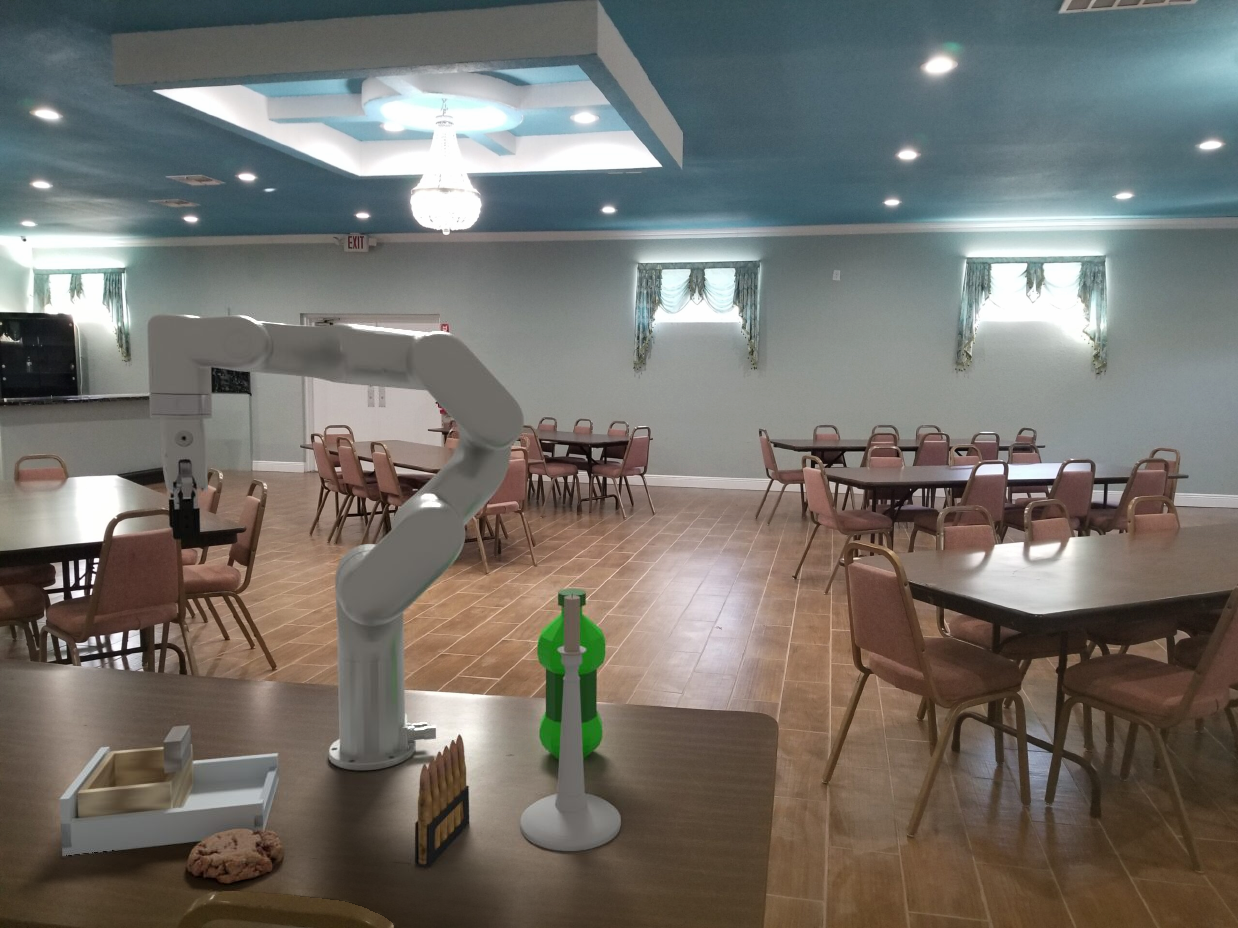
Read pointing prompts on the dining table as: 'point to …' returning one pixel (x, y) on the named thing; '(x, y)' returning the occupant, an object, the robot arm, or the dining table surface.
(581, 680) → the plastic bottle
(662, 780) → the dining table surface
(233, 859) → the cookie
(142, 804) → the drawer
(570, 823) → the candlestick
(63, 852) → the bay
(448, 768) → the ammunition clip
